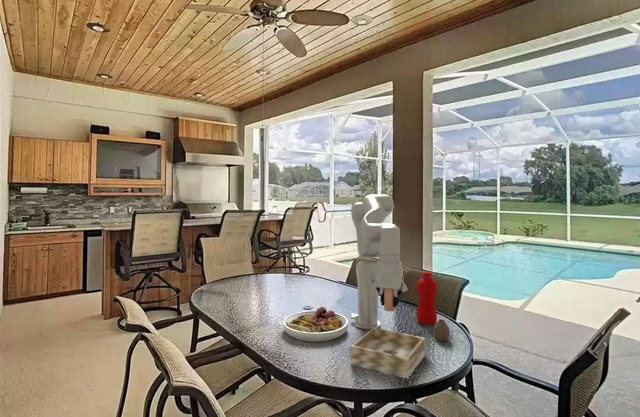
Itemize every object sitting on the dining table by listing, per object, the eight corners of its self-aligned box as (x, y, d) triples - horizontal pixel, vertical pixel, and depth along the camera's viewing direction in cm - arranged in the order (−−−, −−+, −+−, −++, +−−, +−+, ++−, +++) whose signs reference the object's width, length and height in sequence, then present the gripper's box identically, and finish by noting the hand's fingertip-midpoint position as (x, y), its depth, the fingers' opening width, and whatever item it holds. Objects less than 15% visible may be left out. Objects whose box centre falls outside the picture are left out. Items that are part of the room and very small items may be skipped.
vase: (446, 336, 168) (446, 317, 167) (452, 343, 161) (452, 322, 160) (430, 336, 168) (431, 317, 167) (436, 343, 161) (436, 323, 160)
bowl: (342, 347, 157) (342, 329, 157) (274, 341, 163) (274, 323, 163) (351, 322, 186) (351, 307, 186) (293, 318, 193) (293, 303, 192)
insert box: (350, 364, 141) (350, 346, 141) (373, 343, 160) (373, 327, 160) (407, 379, 130) (408, 359, 130) (425, 355, 149) (425, 337, 149)
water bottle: (433, 317, 192) (434, 269, 191) (437, 325, 182) (438, 274, 180) (415, 317, 193) (415, 269, 192) (418, 324, 182) (419, 273, 181)
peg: (382, 310, 144) (382, 284, 143) (386, 307, 147) (386, 282, 147) (392, 311, 141) (392, 285, 141) (396, 309, 145) (396, 283, 144)
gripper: (365, 257, 144) (365, 304, 145) (408, 261, 136) (407, 311, 137) (373, 254, 151) (372, 299, 152) (414, 258, 142) (413, 306, 143)
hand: (389, 305), depth 144 cm, fingers closed on peg, 4 cm apart
